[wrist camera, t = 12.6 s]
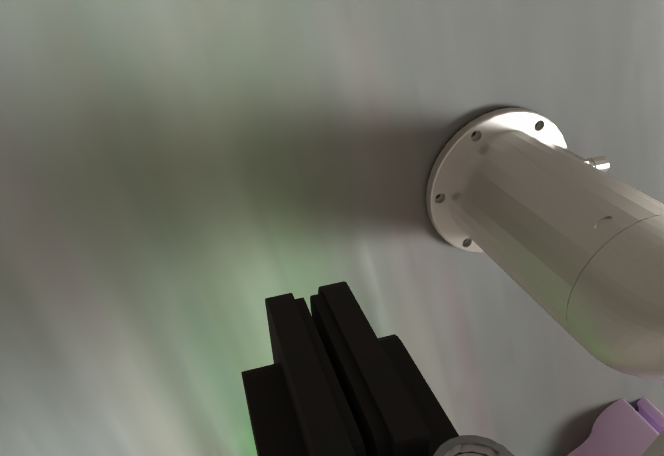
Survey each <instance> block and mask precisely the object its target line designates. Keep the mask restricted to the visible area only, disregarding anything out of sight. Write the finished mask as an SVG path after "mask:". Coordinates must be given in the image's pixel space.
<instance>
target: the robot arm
mask: <svg viewBox="0 0 664 456" xmlns="http://www.w3.org/2000/svg"><path fill="white" fill-rule="evenodd" d="M608 169H609V162H608V159H607V158H606V157H604V156H599V157H594V158H589V159H587V160H585V159H583V158H582V157H580V156H578V155H576V154H574V153H572V152H570V151H568V150H567V144H566V142H565V139H564V137H563V134H562V133H561V131H560V130H559V129H558V127H557V126H556V125H555V124H554V123H553V122H552V121H551V120H549V119H548V118H547V117H545V116H543V115H541V114H539V113H537V112H535V111H531V110H528V109H525V108H513V107H510V108H504V109H497V110H494V111H492V112H489V113H486V114H483V115H481V116H480V117H478V118H476V119H474V120H473V121H471V122H469V123H468V124H467V125H465V126H464V127H463V128H462V129H460V130H459V131H458V132H457V133H456V134H455V135H454V136H453V137H452V138H451V139H450V141H449V142H448V143H447V144H446V145H445V147H444V148H443V150H442V151H441V153H440V154H439V156H438V157H437V159H436V161H435V164H434V166H433V168H432V170H431V173H430V177H429V180H428V184H427V193H426V203H427V212H428V215H429V217H430V220H431V223H432V224H433V226H434V228H435V229H436V231H437V232H438V233H439V234H440V235H441V236H442V237H443V238H444V239H445V241H447V242H448V243H450V244H451V245H452V246H454V247H456V248H458V249H460V250H463V251H468V252H474V253H480V252H485V253H486V254H487V255H488V256H489V257H490V258H491V259H492V260H493V261H494V262H495V263H496V264H497V265H498V266H499V267H500V268H502V269H503V270H504V271H505V272H506V273H507V274H508V275H509V276H510V277H511V278H512V279H513V280H514V281H515V282H516V283H517V284H518V285H519V286H520V287H521V288H522V289H523V290H524V291H525V292H526V293H527V294H528V295H529V296H530V297H532V298H533V299H534V300H535V301H536V302H537V303H538V304H539V305H540V306H541V307H542V308H543V309H544V310H545V311H546V312H547V313H548V314H549V315H550V316H551V317H552V318H553V319H554V320H555V321H556V322H557V323H558V324H559V325H560V326H562V327H563V328H564V329H565V330H566V331H567V332H568V333H569V334H570V335H571V336H572V337H573V338H574V339H575V340H576V341H577V342H578V343H579V344H580V345H581V346H583V347H584V348H585V349H586V350H587V351H588V352H589V353H590V354H591V355H592V356H594V357H595V358H596V359H597V360H599V361H600V362H602V363H604V364H605V365H607V366H608V367H611V368H613V369H615V370H617V371H620V372H622V373H625V374H629V375H633V376H638V377H642V378H650V379H659V380H664V204H662V203H660V202H659V201H657V200H655V199H653V198H651V197H649V196H647V195H646V194H644V193H642V192H640V191H638V190H636V189H634V188H633V187H631V186H629V185H627V184H625V183H623V182H621V181H619V180H618V179H616V178H614V177H612V176H610V175H608V174H606V173H605V172H607V171H608ZM265 303H266V311H267V318H268V325H269V332H270V339H271V346H272V353H273V360H274V364H272V365H268V366H264V367H260V368H256V369H252V370H248V371H244V372H242V378H243V384H244V389H245V394H246V400H247V405H248V410H249V415H250V420H251V425H252V430H253V435H254V440H255V445H256V450H257V455H258V456H514V455H513V454H512V453H511V452H510V451H508V450H507V449H506V448H505V447H504V446H503V445H501V444H499V443H497V442H495V441H493V440H491V439H488V438H484V437H480V436H476V435H462V436H459V435H458V433H457V432H456V430H455V428H454V427H453V425H452V423H451V422H450V420H449V419H448V417H447V415H446V414H445V412H444V410H443V409H442V407H441V405H440V404H439V402H438V401H437V399H436V397H435V396H434V394H433V392H432V391H431V389H430V387H429V386H428V384H427V382H426V381H425V379H424V378H423V376H422V374H421V373H420V371H419V369H418V368H417V366H416V364H415V363H414V361H413V360H412V358H411V356H410V355H409V353H408V351H407V350H406V348H405V346H404V345H403V343H402V342H401V340H400V339H399V338H398V336H396V335H395V334H394V335H390V336H386V337H382V338H377V337H376V335H375V333H374V331H373V329H372V328H371V326H370V324H369V322H368V320H367V319H366V317H365V315H364V313H363V311H362V310H361V308H360V306H359V304H358V302H357V301H356V299H355V297H354V295H353V293H352V292H351V290H350V288H349V286H348V285H347V283H346V282H339V283H334V284H330V285H325V286H321V287H319V289H318V294H317V295H312V296H311V297H310V303H311V314H312V316H311V314H310V312H309V309H308V307H307V304H306V302H305V300H304V298H299V299H294V296H293V294H292V293H289V294H284V295H279V296H275V297H270V298H266V299H265ZM641 456H664V430H663V431H662V432H661V433H660V434H659V436H658V437H657V438H656V439H655V440H654V441H653V443H652V444H651V445H650V446H649V447H648V448H647V450H646V451H645V452H644V453H643V454H642V455H641Z"/></svg>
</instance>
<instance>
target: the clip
mask: <svg viewBox="0 0 664 456" xmlns="http://www.w3.org/2000/svg"><path fill="white" fill-rule="evenodd" d="M637 406H638V408H639V412H637V411H636V410H635V409H634V408H633V407H632V406H631V405H630V404H629V403H628V402H627V401H626V400H625V399H624V398H621V399H619V400H617V401H616V402H614V403H612V404H611V405H610V406H608V407H607V408H606V409H605V410H604V411H603V412H602V413H601V414H600V415H599V416H598V418H597V419H596V421H595V423H594V425H593V428H592V432H591V434H590V436H589V437H588V439H587V440H586V441H585V442H584V443H583V444H582V445H580V446H579V447H577V448H576V449H575V450H573V451H572V452H571V453H569V454H568V455H567V456H641V455H642V454H643V453H644V452H645V451H646V450H647V448H648V447H649V446H650V445H651V444H652V443H653V441H654V440H655V439H656V438H657V437H658V436H659V434H660V433H661V432H662V431H663V430H664V415H663V414H662V413H661V412H660V411H659V410H658V409H657V408H656V407H655V406H654V405H653V404H652V403H650V402H649V401H648V400H647V399H646V398H645V397H643V398H641V399H640V400H639V401H638V402H637Z"/></svg>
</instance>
